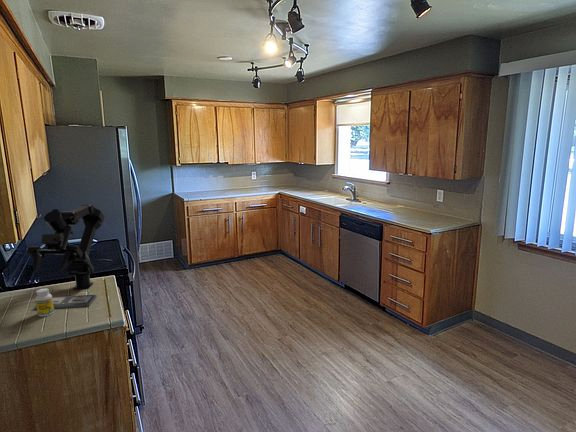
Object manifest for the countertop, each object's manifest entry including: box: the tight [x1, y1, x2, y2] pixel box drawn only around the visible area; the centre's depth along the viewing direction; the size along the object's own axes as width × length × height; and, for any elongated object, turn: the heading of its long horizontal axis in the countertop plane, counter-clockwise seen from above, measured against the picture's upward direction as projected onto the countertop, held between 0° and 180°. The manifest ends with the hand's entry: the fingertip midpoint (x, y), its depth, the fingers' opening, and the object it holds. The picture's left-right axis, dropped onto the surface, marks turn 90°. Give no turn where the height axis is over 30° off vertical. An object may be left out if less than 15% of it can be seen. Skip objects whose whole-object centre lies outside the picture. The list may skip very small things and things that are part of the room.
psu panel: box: [34, 294, 98, 311], centre depth 154 cm, size 9×20×2 cm, turn 98°
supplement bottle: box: [34, 288, 55, 317], centre depth 144 cm, size 5×5×10 cm
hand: (48, 271), depth 143 cm, fingers open, 9 cm apart
